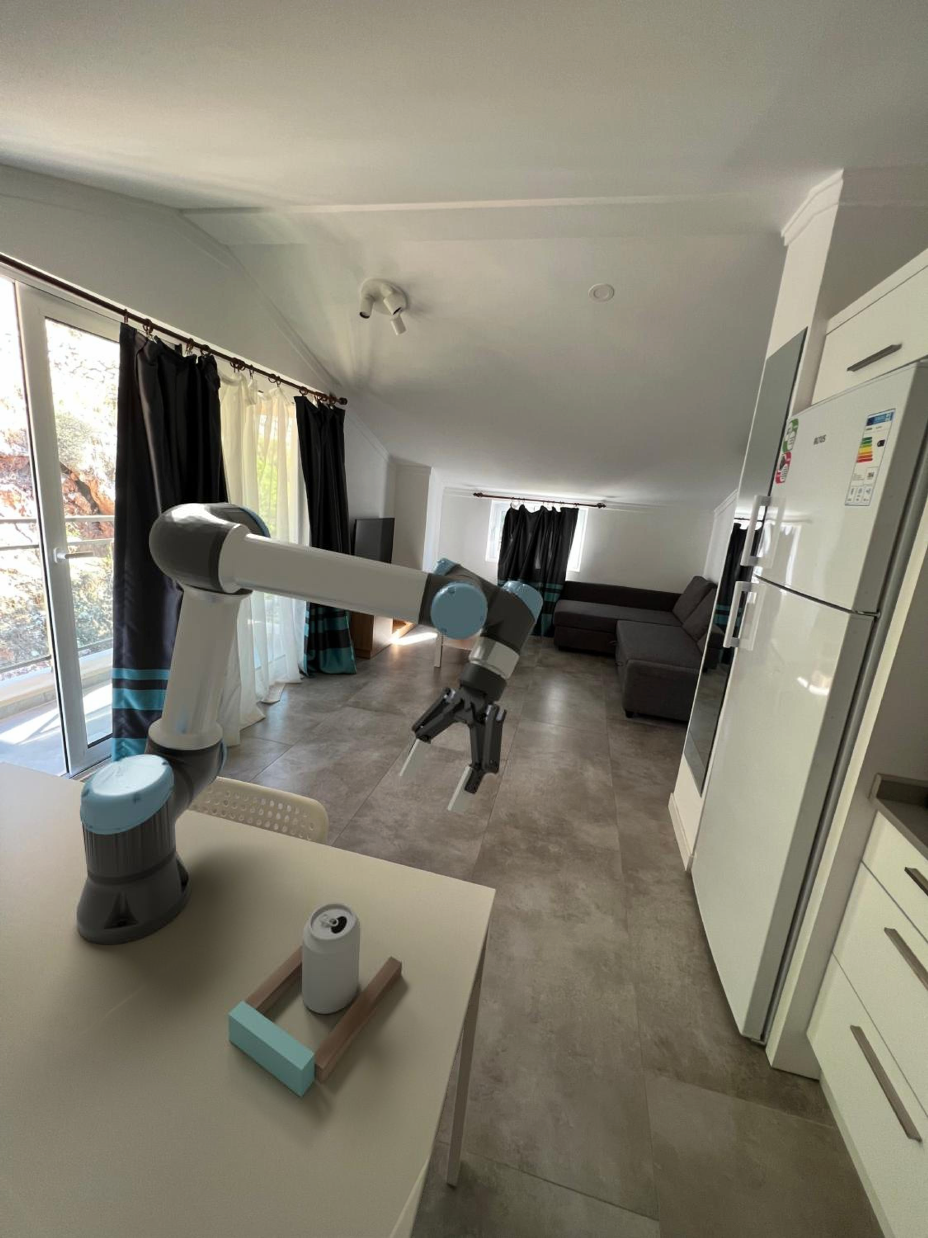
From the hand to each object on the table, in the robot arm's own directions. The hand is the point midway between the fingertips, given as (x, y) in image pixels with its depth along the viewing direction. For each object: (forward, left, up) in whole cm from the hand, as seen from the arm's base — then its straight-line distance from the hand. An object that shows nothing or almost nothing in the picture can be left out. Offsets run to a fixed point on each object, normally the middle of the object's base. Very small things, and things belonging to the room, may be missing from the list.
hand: (428, 794), depth 76 cm
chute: (-4, -18, -23) cm, 29 cm away
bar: (-4, -27, -23) cm, 36 cm away
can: (-4, -17, -23) cm, 29 cm away
